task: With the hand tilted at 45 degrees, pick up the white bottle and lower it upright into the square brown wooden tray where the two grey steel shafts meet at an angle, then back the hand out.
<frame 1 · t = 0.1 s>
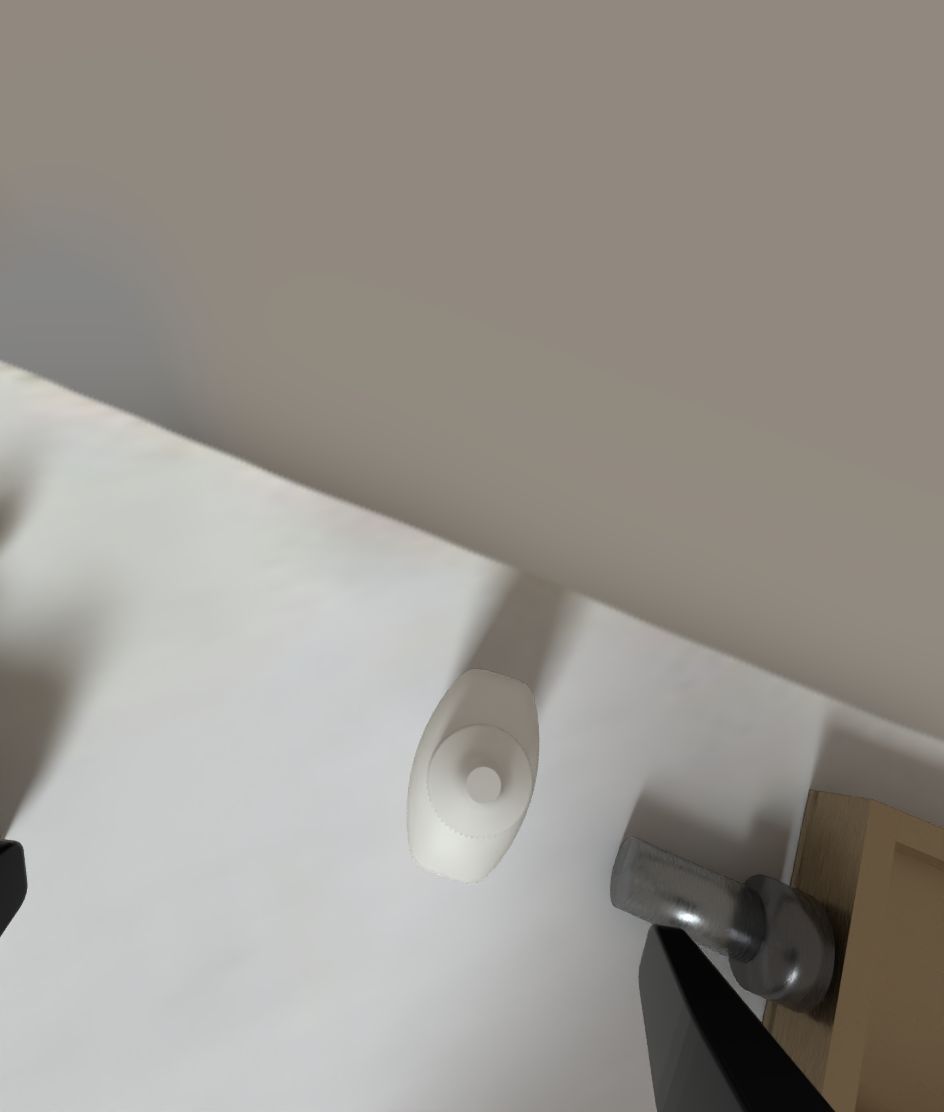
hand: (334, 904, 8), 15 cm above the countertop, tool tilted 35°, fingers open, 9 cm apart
white bottle: (467, 759, 23), on the countertop
input shaft: (689, 896, 21), on the countertop
square brown wooden tray: (926, 1000, 21), on the countertop
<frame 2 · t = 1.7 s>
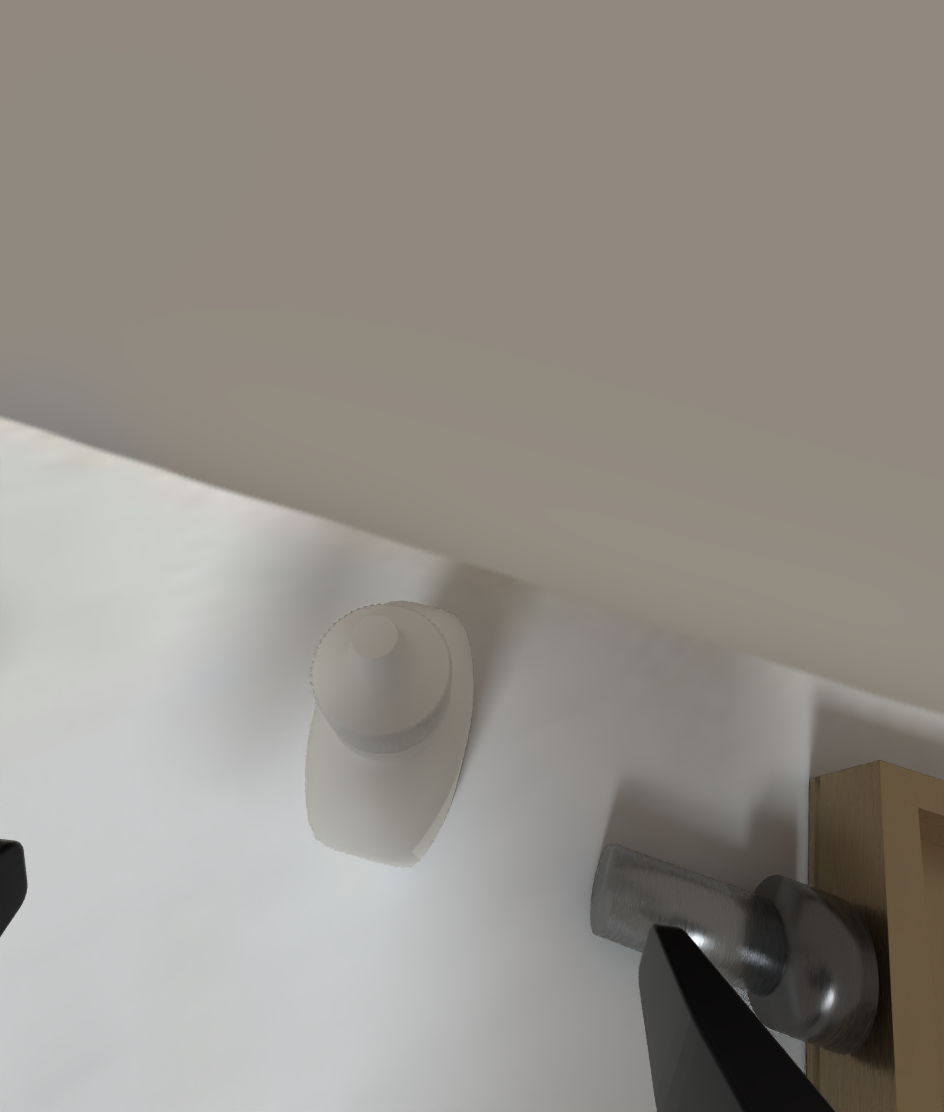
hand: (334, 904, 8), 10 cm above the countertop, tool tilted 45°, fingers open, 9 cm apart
white bottle: (407, 771, 19), on the countertop
input shaft: (689, 922, 17), on the countertop
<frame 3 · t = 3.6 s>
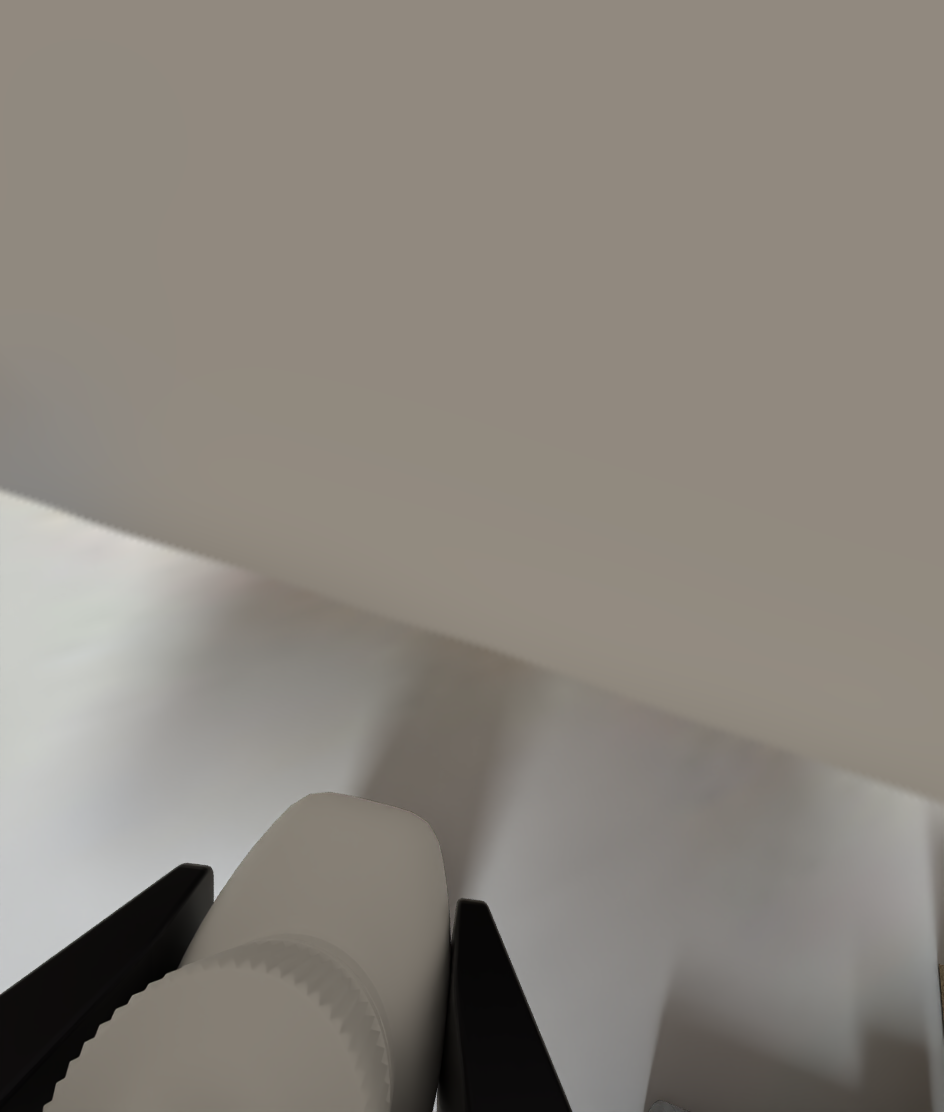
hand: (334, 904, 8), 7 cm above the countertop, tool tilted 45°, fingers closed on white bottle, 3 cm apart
white bottle: (365, 960, 13), on the countertop, touching gripper
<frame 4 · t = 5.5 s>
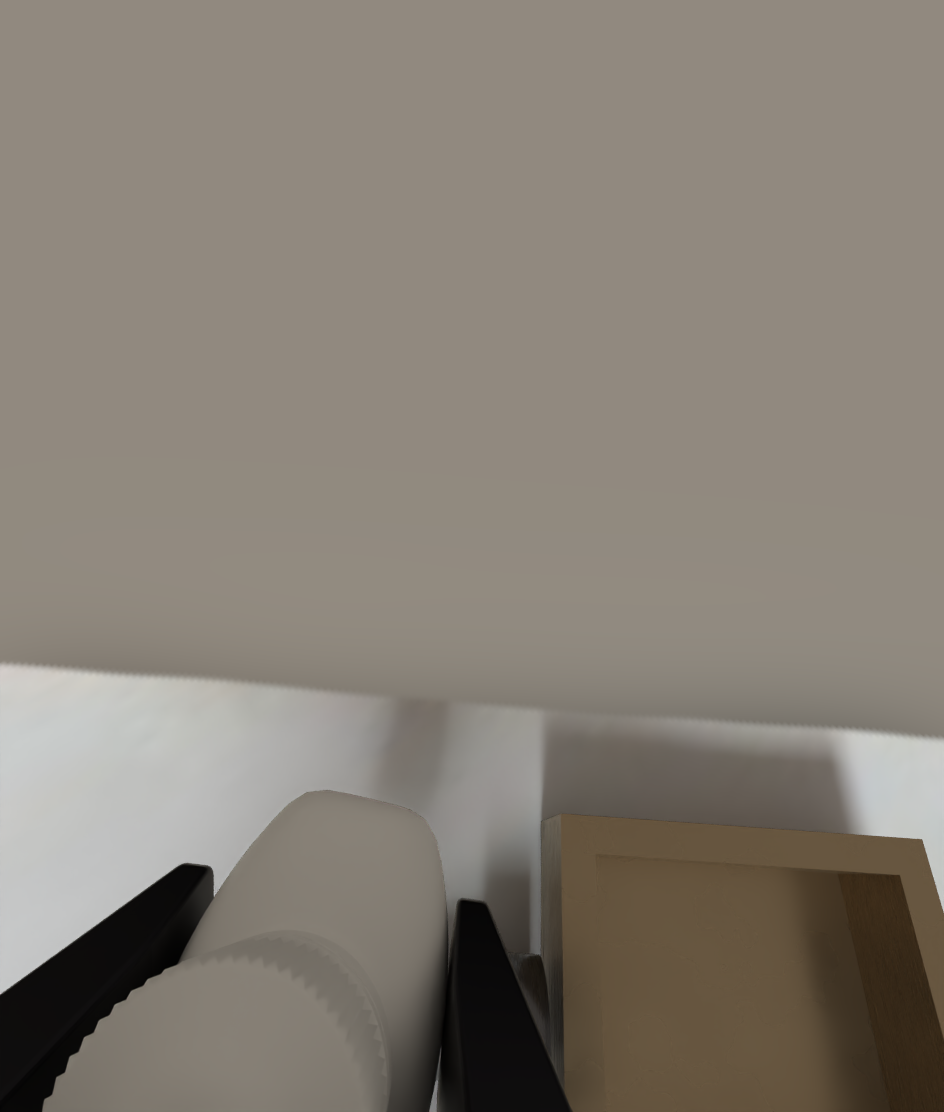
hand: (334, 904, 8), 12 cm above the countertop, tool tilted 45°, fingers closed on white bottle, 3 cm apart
white bottle: (365, 957, 13), point 5 cm above the countertop, touching gripper
input shaft: (425, 1011, 17), on the countertop
square brown wooden tray: (718, 1031, 17), on the countertop
when the fingers open (8 cm above the countertop, at t = 7.6 s): white bottle stays where it is, resting on square brown wooden tray.
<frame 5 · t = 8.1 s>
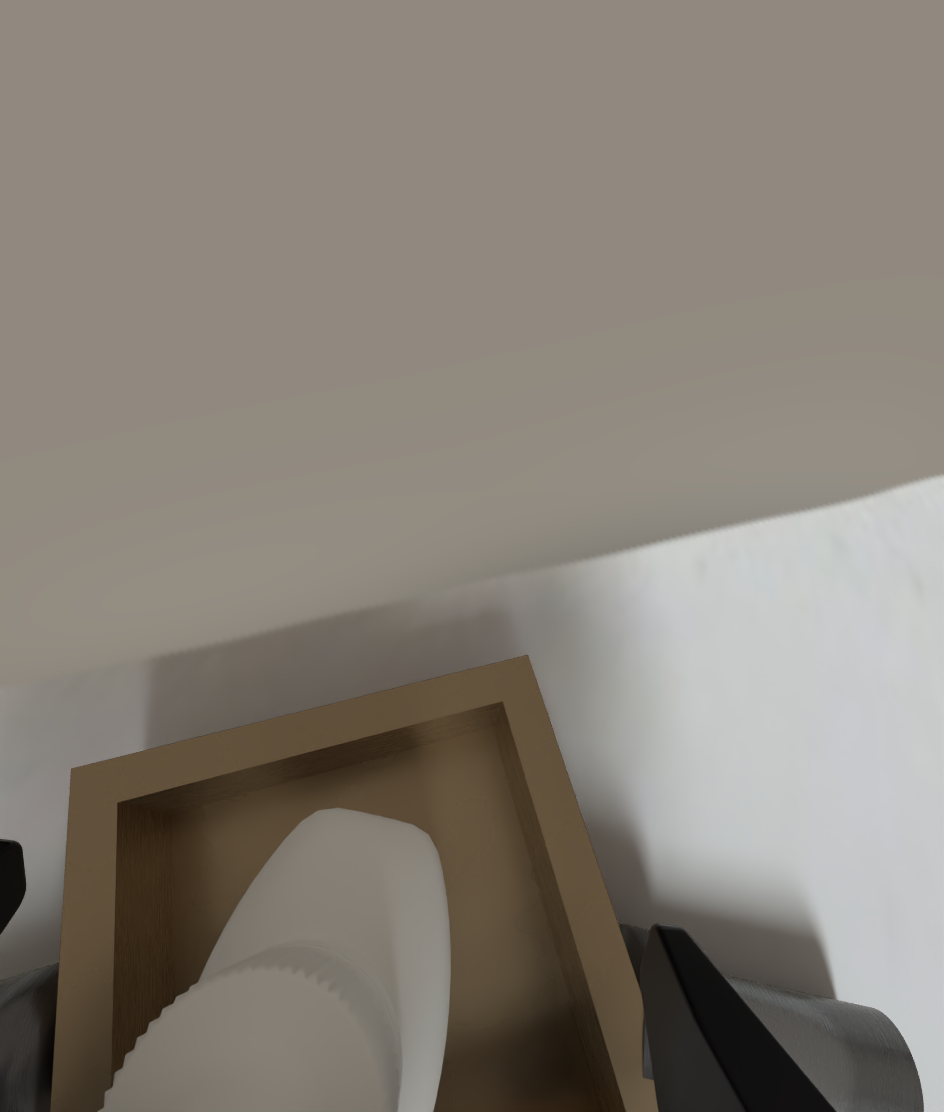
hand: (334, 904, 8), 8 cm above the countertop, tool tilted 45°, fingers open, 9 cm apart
white bottle: (369, 963, 14), resting on square brown wooden tray
output shaft: (726, 1031, 14), on the countertop
square brown wooden tray: (370, 952, 14), on the countertop
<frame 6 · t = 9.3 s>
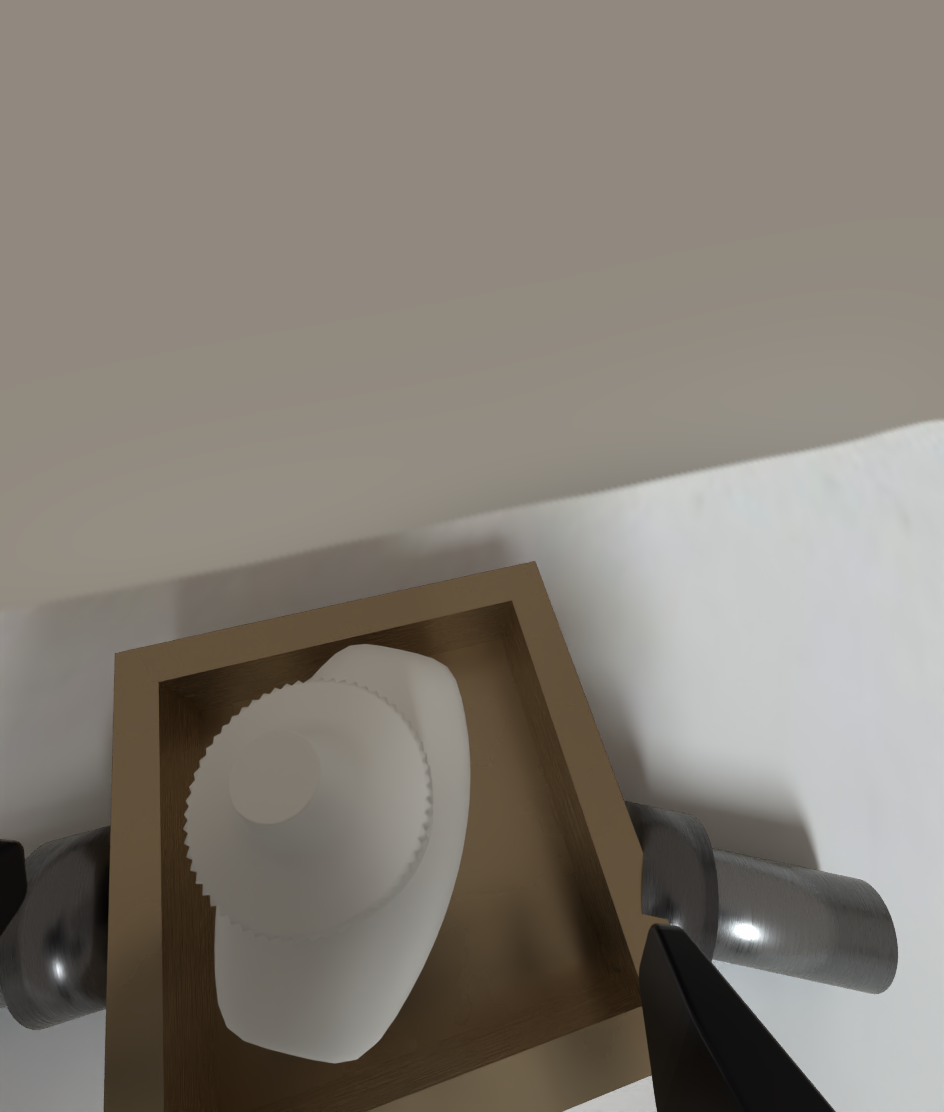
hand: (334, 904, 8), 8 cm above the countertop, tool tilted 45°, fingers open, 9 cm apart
white bottle: (388, 840, 15), resting on square brown wooden tray
output shaft: (719, 904, 15), on the countertop
input shaft: (25, 942, 14), on the countertop
square brown wooden tray: (389, 834, 15), on the countertop
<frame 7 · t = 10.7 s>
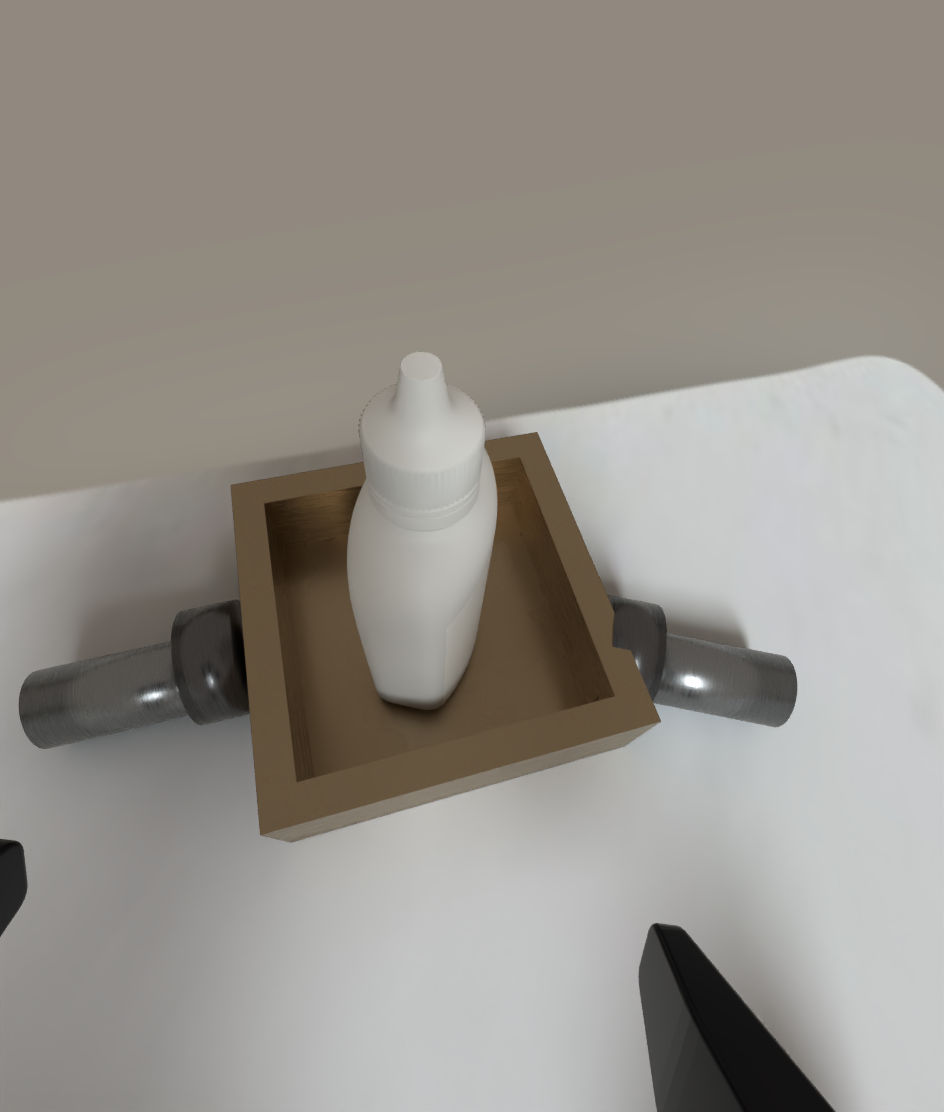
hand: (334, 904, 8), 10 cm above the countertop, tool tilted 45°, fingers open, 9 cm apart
white bottle: (427, 634, 20), resting on square brown wooden tray
output shaft: (675, 683, 20), on the countertop
input shaft: (164, 695, 19), on the countertop
square brown wooden tray: (427, 634, 20), on the countertop
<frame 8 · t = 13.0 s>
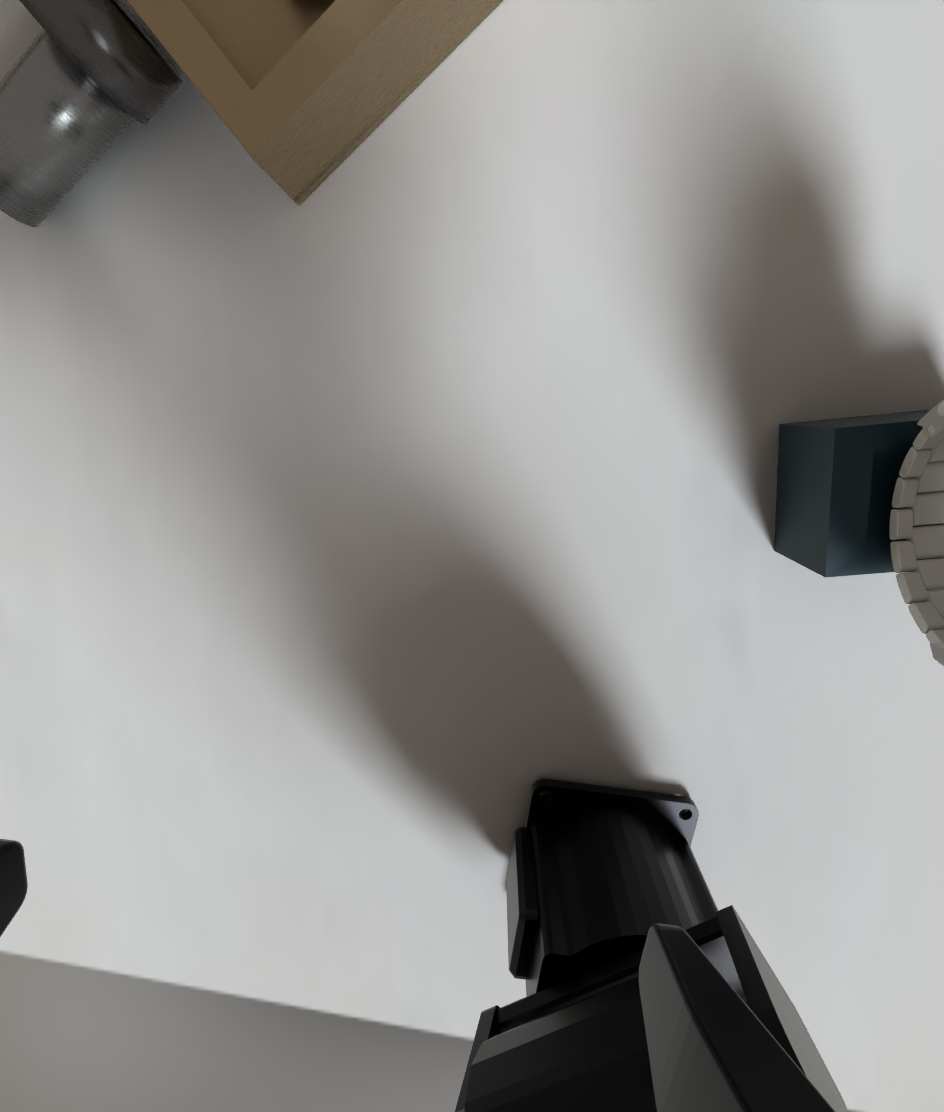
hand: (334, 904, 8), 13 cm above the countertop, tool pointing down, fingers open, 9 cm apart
watch: (858, 483, 19), on the countertop
input shaft: (89, 132, 17), on the countertop
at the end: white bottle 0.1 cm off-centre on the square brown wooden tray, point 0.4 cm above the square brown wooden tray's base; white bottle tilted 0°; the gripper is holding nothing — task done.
